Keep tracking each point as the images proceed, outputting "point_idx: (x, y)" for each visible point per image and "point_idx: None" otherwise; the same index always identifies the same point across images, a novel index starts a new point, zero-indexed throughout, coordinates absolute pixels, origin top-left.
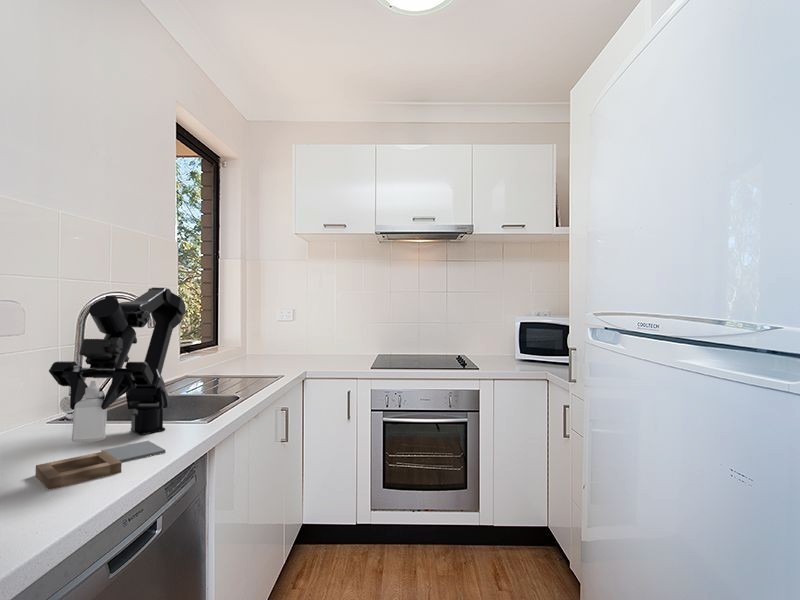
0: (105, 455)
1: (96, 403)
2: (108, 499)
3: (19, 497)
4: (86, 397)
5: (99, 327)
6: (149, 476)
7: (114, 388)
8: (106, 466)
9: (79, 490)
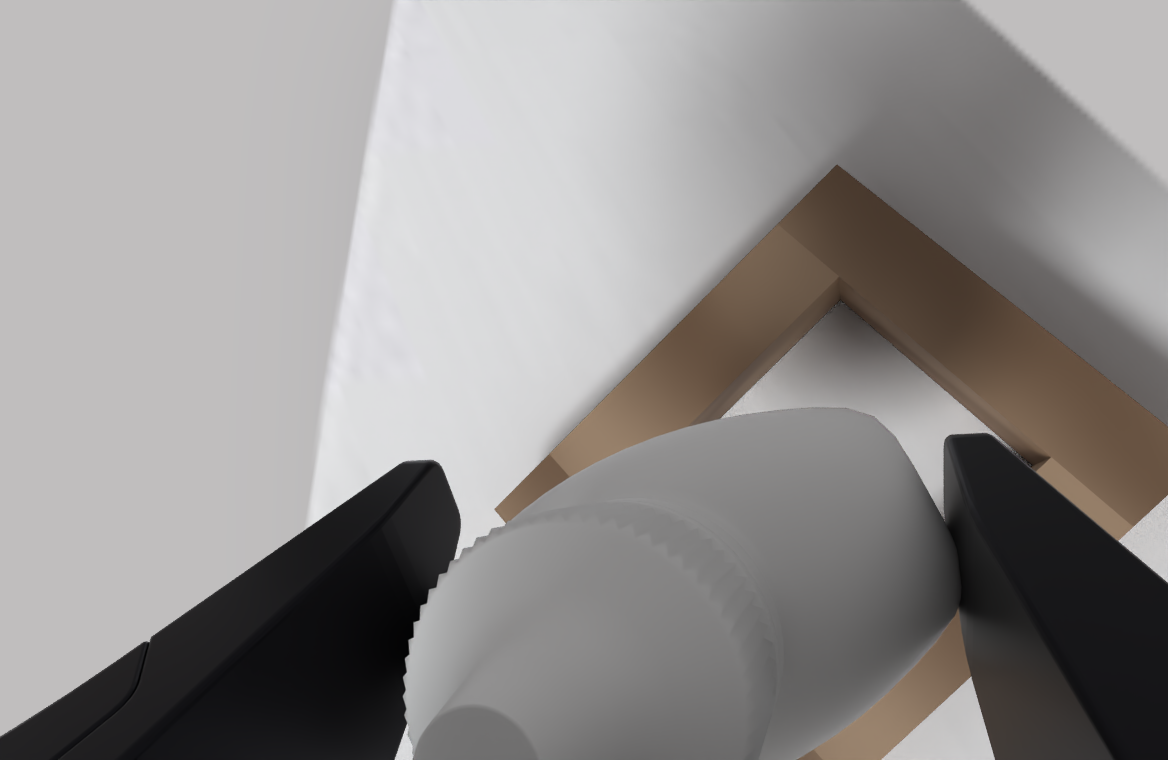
0: None
1: (520, 515)
2: (413, 104)
3: (945, 77)
4: (683, 509)
5: None
6: (325, 431)
7: (75, 699)
8: (570, 436)
9: (631, 203)
